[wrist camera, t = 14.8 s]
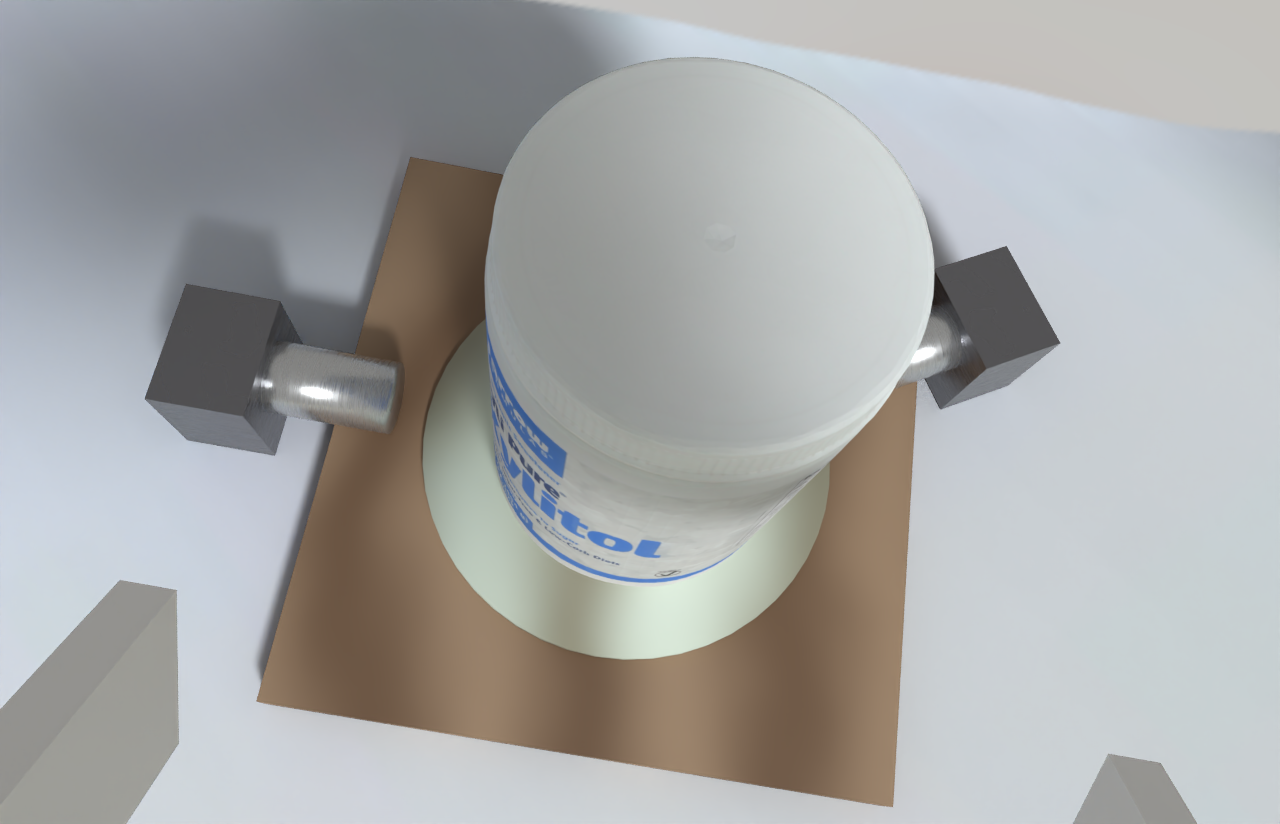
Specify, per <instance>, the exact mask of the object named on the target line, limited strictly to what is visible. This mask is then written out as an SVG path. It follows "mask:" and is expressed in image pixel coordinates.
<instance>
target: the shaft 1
mask: <svg viewBox="0 0 1280 824" xmlns="http://www.w3.org/2000/svg"><path fill="white" fill-rule="evenodd" d="M404 383H405V369H404V365H403V363H400V362H395V361H389V360H384V359H378V358H373V357H367V356H362V355H356V354H351V353H345V352H340V351H334V350H329V349H324V348H318V347H313V346H307V345H303V343H302V341H301V340H300V338H299V336H298V334H297V332H296V330H295V328H294V327H293V325H292V323H291V321H290V319H289V317H288V315H287V314H286V312H285V310H284V308H283V306H282V304H281V302H280V301H276V300H271V299H265V298H260V297H254V296H249V295H243V294H238V293H233V292H227V291H222V290H216V289H211V288H205V287H200V286H195V285H189V284H186V286H185V288H184V291H183V294H182V297H181V299H180V302H179V305H178V308H177V310H176V313H175V316H174V319H173V322H172V324H171V327H170V330H169V333H168V335H167V338H166V341H165V344H164V346H163V349H162V352H161V355H160V358H159V360H158V363H157V366H156V369H155V371H154V374H153V377H152V380H151V382H150V385H149V388H148V391H147V394H146V396H145V400H146V401H147V402H148V403H149V404H150V405H152V406H153V407H154V408H155V409H156V410H157V411H158V412H159V413H160V414H161V415H162V416H163V417H164V418H165V419H166V420H167V421H168V422H169V423H170V424H171V425H172V426H173V427H175V428H176V429H177V430H178V431H179V432H180V433H181V434H182V435H183V436H184V437H185V438H186V439H187V440H190V441H196V442H201V443H207V444H213V445H218V446H224V447H230V448H235V449H241V450H247V451H252V452H258V453H264V454H269V455H275V454H276V450H277V447H278V444H279V441H280V437H281V434H282V431H283V427H284V424H285V421H286V417H287V416H290V417H295V418H301V419H307V420H312V421H318V422H323V423H329V424H335V425H340V426H346V427H351V428H357V429H363V430H368V431H374V432H379V433H385V434H390V433H391V432H392V430H393V429H394V427H395V424H396V422H397V419H398V415H399V412H400V408H401V403H402V398H403V392H404Z"/></svg>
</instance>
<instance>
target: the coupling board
mask: <svg viewBox="0 0 1280 824" xmlns="http://www.w3.org/2000/svg"><path fill="white" fill-rule="evenodd" d="M502 179H503V175H501V174H496V173H491V172H486V171H481V170H475V169H470V168H465V167H460V166H455V165H449V164H444V163H439V162H434V161H428V160H423V159H418V158H413V157H410V160H409V164H408V167H407V171H406V175H405V178H404V182H403V185H402V189H401V192H400V196H399V199H398V203H397V206H396V210H395V213H394V217H393V220H392V224H391V227H390V231H389V235H388V238H387V242H386V245H385V249H384V252H383V256H382V259H381V263H380V266H379V270H378V273H377V277H376V280H375V284H374V288H373V291H372V295H371V298H370V302H369V305H368V309H367V312H366V316H365V319H364V323H363V326H362V330H361V333H360V337H359V341H358V344H357V348H356V351H355V354H356V355H362V356H367V357H373V358H378V359H384V360H389V361H395V362H400V363H403V365H404V369H405V383H404V392H403V398H402V403H401V408H400V412H399V415H398V419H397V422H396V424H395V427H394V429H393V430H392V432H391V433H390V434H385V433H379V432H374V431H368V430H363V429H357V428H351V427H346V426H340V425H334V429H333V432H332V436H331V439H330V443H329V447H328V450H327V454H326V457H325V461H324V464H323V468H322V471H321V475H320V478H319V482H318V485H317V489H316V492H315V496H314V499H313V503H312V507H311V510H310V514H309V517H308V521H307V524H306V528H305V531H304V535H303V538H302V542H301V545H300V549H299V552H298V556H297V560H296V563H295V567H294V570H293V574H292V577H291V581H290V584H289V588H288V591H287V595H286V598H285V602H284V605H283V609H282V613H281V616H280V620H279V623H278V627H277V630H276V634H275V637H274V641H273V644H272V648H271V651H270V655H269V658H268V662H267V666H266V669H265V673H264V676H263V680H262V683H261V687H260V690H259V694H258V697H257V702H261V703H265V704H270V705H276V706H282V707H288V708H294V709H300V710H306V711H312V712H319V713H325V714H331V715H337V716H343V717H349V718H355V719H361V720H367V721H373V722H379V723H385V724H391V725H397V726H403V727H409V728H415V729H421V730H427V731H433V732H439V733H445V734H451V735H457V736H463V737H469V738H475V739H481V740H488V741H494V742H500V743H506V744H512V745H518V746H524V747H530V748H536V749H542V750H548V751H554V752H560V753H566V754H572V755H578V756H584V757H590V758H596V759H602V760H608V761H614V762H620V763H626V764H632V765H638V766H644V767H650V768H657V769H663V770H669V771H675V772H681V773H687V774H693V775H699V776H705V777H711V778H717V779H723V780H729V781H735V782H741V783H747V784H753V785H759V786H765V787H771V788H777V789H783V790H789V791H795V792H801V793H807V794H813V795H819V796H825V797H832V798H838V799H844V800H850V801H856V802H862V803H868V804H874V805H880V806H889V807H893V798H894V780H895V763H896V745H897V728H898V710H899V692H900V675H901V657H902V639H903V622H904V604H905V586H906V569H907V551H908V533H909V516H910V498H911V481H912V463H913V445H914V428H915V410H916V392H917V381H916V382H913V383H910V384H907V385H904V386H901V387H899V388H896V389H894V390H893V391H892V393H891V394H890V396H889V398H888V399H887V400H886V402H885V403H884V404H883V406H882V407H881V408H880V410H879V411H878V412H877V413H876V415H875V416H874V417H873V418H872V419H871V420H870V421H869V422H868V423H867V424H866V425H865V426H864V427H863V428H862V429H861V431H860V432H859V433H858V434H857V435H856V436H855V437H854V438H853V439H852V440H851V441H850V442H849V443H848V444H847V445H846V446H845V447H844V448H843V449H842V450H841V451H840V452H839V453H838V454H837V455H836V456H835V457H834V458H833V459H832V460H831V461H830V462H829V463H828V464H827V465H826V466H825V467H824V468H823V469H822V470H821V471H820V472H819V473H818V474H817V475H816V476H815V477H813V478H812V479H811V480H810V481H809V482H808V483H807V484H806V485H805V486H804V487H803V488H802V489H801V490H800V491H799V492H798V493H797V494H796V495H795V496H794V497H793V498H792V499H791V500H790V501H789V502H788V503H787V504H786V505H785V506H784V507H782V508H781V509H780V510H779V511H778V512H777V513H776V514H775V515H774V516H773V517H772V518H771V519H770V520H769V521H768V522H767V523H766V524H765V525H764V526H763V527H762V528H761V529H760V530H759V531H757V532H756V533H755V534H754V535H753V536H752V537H751V538H750V539H749V540H748V541H747V542H746V543H745V544H744V545H743V546H741V547H740V548H739V549H738V550H737V551H736V552H735V553H734V554H732V555H731V556H730V557H729V558H728V559H726V560H725V561H723V562H722V563H720V564H719V565H718V566H716V567H714V568H712V569H711V570H709V571H707V572H705V573H703V574H701V575H698V576H696V577H693V578H690V579H688V580H685V581H681V582H677V583H674V584H669V585H664V586H655V587H634V586H625V585H619V584H614V583H609V582H604V581H601V580H597V579H594V578H591V577H588V576H585V575H583V574H580V573H578V572H576V571H574V570H572V569H570V568H568V567H566V566H565V565H563V564H561V563H559V562H558V561H557V560H555V559H554V558H552V557H551V556H550V555H548V554H547V553H546V552H544V551H543V550H542V549H541V548H540V547H539V546H538V545H537V544H536V543H535V542H534V541H533V540H532V539H531V538H530V537H529V535H528V534H527V533H526V532H525V530H524V529H523V528H522V526H521V525H520V524H519V522H518V521H517V520H516V518H515V516H514V514H513V513H512V511H511V509H510V507H509V505H508V503H507V500H506V498H505V496H504V493H503V491H502V488H501V484H500V481H499V478H498V473H497V468H496V463H495V450H494V437H493V422H492V407H491V391H490V377H489V362H488V348H487V332H486V311H485V279H484V278H485V265H486V255H487V251H488V244H489V237H490V232H491V228H492V221H493V213H494V206H495V202H496V198H497V195H498V191H499V188H500V185H501V182H502Z"/></svg>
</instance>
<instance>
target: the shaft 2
mask: <svg viewBox="0 0 1280 824" xmlns="http://www.w3.org/2000/svg"><path fill="white" fill-rule="evenodd" d="M1059 344H1060V342H1059V340H1058V338H1057V336H1056V334H1055V333H1054V331H1053V329H1052V327H1051V325H1050V324H1049V322H1048V320H1047V318H1046V316H1045V315H1044V313H1043V311H1042V309H1041V307H1040V306H1039V304H1038V302H1037V300H1036V298H1035V296H1034V295H1033V293H1032V291H1031V289H1030V287H1029V286H1028V284H1027V282H1026V280H1025V278H1024V277H1023V275H1022V273H1021V271H1020V269H1019V268H1018V266H1017V264H1016V262H1015V260H1014V259H1013V257H1012V255H1011V253H1010V251H1009V250H1008V248H1007V246H1005V247H1002V248H999V249H996V250H993V251H990V252H986V253H983V254H980V255H977V256H974V257H971V258H968V259H965V260H961V261H958V262H955V263H952V264H949V265H946V266H943V267H939V268H936V269H934V294H933V300H932V306H931V312H930V316H929V319H928V323H927V326H926V330H925V333H924V335H923V338H922V341H921V343H920V346H919V348H918V350H917V351H916V353H915V355H914V357H913V359H912V361H911V363H910V365H909V367H908V368H907V369H906V371H905V372H904V374H903V375H902V376H901V378H900V379H899V381H898V382H897V384H896V386H895V388H894V389H896V388H899V387H901V386H904V385H907V384H910V383H913V382H916V381H919V380H922V379H926V381H927V383H928V385H929V387H930V389H931V391H932V393H933V395H934V397H935V399H936V401H937V403H938V405H939V407H940V409H943V408H946V407H949V406H951V405H954V404H957V403H960V402H963V401H966V400H968V399H971V398H974V397H977V396H980V395H982V394H985V393H988V392H991V391H994V390H996V389H999V388H1002V387H1005V386H1008V385H1009V384H1010V383H1011V382H1013V381H1014V380H1015V379H1016V378H1018V377H1019V376H1020V375H1021V374H1023V373H1024V372H1025V371H1026V370H1028V369H1029V368H1030V367H1031V366H1033V365H1034V364H1035V363H1036V362H1038V361H1039V360H1040V359H1041V358H1043V357H1044V356H1045V355H1046V354H1048V353H1049V352H1050V351H1051V350H1053V349H1054V348H1055V347H1056V346H1058V345H1059Z"/></svg>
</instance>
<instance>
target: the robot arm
mask: <svg viewBox="0 0 1280 824" xmlns="http://www.w3.org/2000/svg"><path fill="white" fill-rule="evenodd" d="M178 744H179V728H178V657H177V590H173V589H167V588H162V587H156V586H150V585H145V584H139V583H133V582H128V581H122V580H120V581H119V582H118V583H117V584H116V585H115V586H114V587H113V588H112V589H111V590H110V591H109V593H108V594H107V595H106V596H105V597H104V598H103V599H102V600H101V601H100V602H99V603H98V604H97V605H96V607H95V608H94V609H93V610H92V611H91V612H90V613H89V614H88V615H87V616H86V617H85V618H84V620H83V621H82V622H81V623H80V624H79V625H78V626H77V627H76V628H75V629H74V630H73V631H72V632H71V634H70V635H69V636H68V637H67V638H66V639H65V640H64V641H63V642H62V643H61V644H60V645H59V647H58V648H57V649H56V650H55V651H54V652H53V653H52V654H51V655H50V656H49V657H48V658H47V659H46V661H45V662H44V663H43V664H42V665H41V666H40V667H39V668H38V669H37V670H36V671H35V672H34V674H33V675H32V676H31V677H30V678H29V679H28V680H27V681H26V682H25V683H24V684H23V685H22V686H21V688H20V689H19V690H18V691H17V692H16V693H15V694H14V695H13V696H12V697H11V698H10V699H9V701H8V702H7V703H6V704H5V705H4V706H3V707H2V708H1V709H0V824H126V823H127V822H128V820H129V819H130V817H131V816H132V814H133V813H134V811H135V809H136V808H137V806H138V805H139V803H140V802H141V800H142V799H143V797H144V796H145V794H146V793H147V791H148V790H149V788H150V787H151V785H152V783H153V782H154V780H155V779H156V777H157V776H158V774H159V773H160V771H161V770H162V768H163V767H164V765H165V764H166V762H167V761H168V759H169V757H170V756H171V754H172V753H173V751H174V750H175V748H176V747H177V745H178ZM1073 824H1197V822H1196V821H1195V819H1194V817H1193V816H1192V814H1191V813H1190V811H1189V809H1188V808H1187V806H1186V804H1185V803H1184V801H1183V799H1182V798H1181V796H1180V794H1179V793H1178V791H1177V789H1176V788H1175V786H1174V784H1173V783H1172V781H1171V779H1170V778H1169V776H1168V774H1167V773H1166V771H1165V769H1164V768H1163V766H1162V765H1161V763H1158V762H1152V761H1146V760H1140V759H1135V758H1129V757H1123V756H1118V755H1112V754H1108V756H1107V758H1106V760H1105V762H1104V764H1103V766H1102V767H1101V769H1100V771H1099V773H1098V775H1097V777H1096V779H1095V781H1094V783H1093V785H1092V787H1091V789H1090V791H1089V793H1088V795H1087V797H1086V799H1085V801H1084V803H1083V805H1082V807H1081V809H1080V811H1079V813H1078V815H1077V817H1076V819H1075V821H1074V823H1073Z"/></svg>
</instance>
